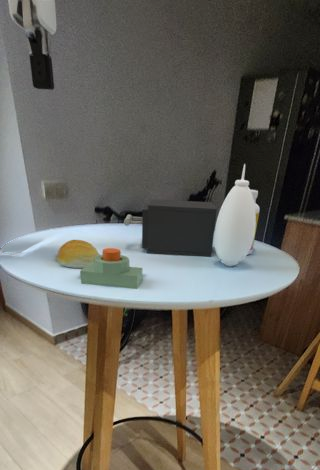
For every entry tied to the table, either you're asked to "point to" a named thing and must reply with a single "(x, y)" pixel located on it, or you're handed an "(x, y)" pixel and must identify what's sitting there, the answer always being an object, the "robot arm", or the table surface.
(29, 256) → the table surface
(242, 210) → the sauce bottle
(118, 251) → the button
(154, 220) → the box
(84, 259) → the bread roll
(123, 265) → the box
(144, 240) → the drawer
